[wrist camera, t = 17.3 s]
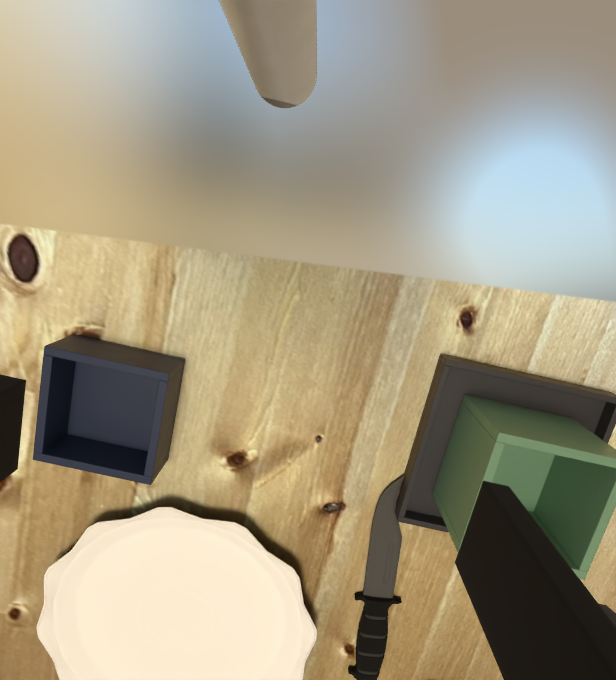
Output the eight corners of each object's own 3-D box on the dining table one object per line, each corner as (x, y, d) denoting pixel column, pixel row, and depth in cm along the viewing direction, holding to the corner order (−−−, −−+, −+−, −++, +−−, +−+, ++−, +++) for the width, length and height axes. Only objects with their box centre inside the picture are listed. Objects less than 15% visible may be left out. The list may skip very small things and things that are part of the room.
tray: (440, 353, 45) (446, 359, 43) (611, 392, 45) (625, 399, 43) (393, 509, 49) (396, 521, 47) (552, 543, 49) (562, 557, 47)
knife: (371, 475, 47) (421, 479, 46) (370, 467, 48) (418, 472, 48) (345, 681, 52) (389, 685, 52) (344, 668, 54) (387, 672, 53)
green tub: (464, 393, 45) (499, 432, 36) (573, 418, 45) (634, 462, 37) (431, 493, 47) (457, 552, 39) (535, 516, 48) (584, 580, 39)
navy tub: (73, 333, 45) (44, 346, 40) (185, 358, 45) (169, 373, 41) (61, 436, 48) (32, 459, 43) (168, 459, 48) (150, 485, 43)
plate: (69, 469, 48) (57, 481, 46) (343, 534, 49) (344, 549, 47) (36, 690, 55) (23, 711, 52) (279, 744, 56) (277, 766, 53)
